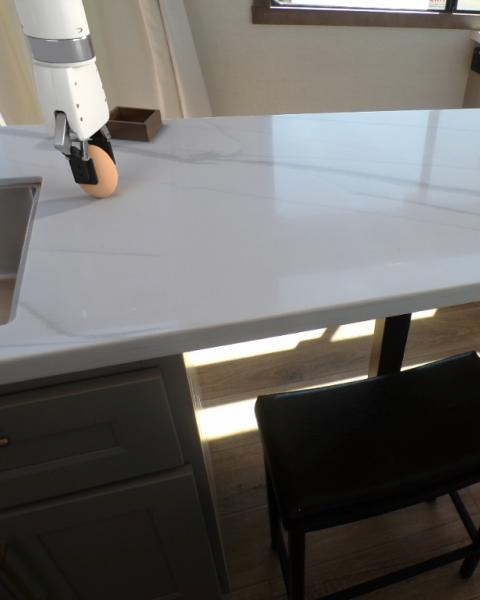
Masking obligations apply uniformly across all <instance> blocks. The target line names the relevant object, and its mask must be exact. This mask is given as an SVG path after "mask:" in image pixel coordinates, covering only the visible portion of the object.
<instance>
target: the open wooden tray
mask: <svg viewBox="0 0 480 600" xmlns="http://www.w3.org/2000/svg"><path fill="white" fill-rule="evenodd" d="M108 122H109V123H108V124H109V125H108V131H109V133H110V140H111V139H112V140H113V139H114V140H124V141H135V142H136V141H137V142H147V143H148V142H150V141H151V140H152V139H153V138H154V137H155V136H156V135H157V133H159V132H160V130H161V129H162V128H163V127H164V125H163V120H162V114H161V109H155V108H147V107H146V108H145V107H133V106H123V105H116V106H115V107H114V108H112V109H110V110H109V119H108Z"/></svg>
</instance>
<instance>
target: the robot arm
mask: <svg viewBox="0 0 480 600" xmlns="http://www.w3.org/2000/svg"><path fill="white" fill-rule="evenodd" d="M13 3H14V7H15V10H16V14H17V16H18V19H19V23H20V25H21V29H22V32H23V35H24V38H25V41H26V44H27V48H28V51H29V54H30V57H31V61H32V62H33V63H34V64H33V65H32V68H33V78H34V83H35V89H36V95H37V98H38V99H37V100H38V103H39V107H40V111H41V115H42V118H43V122H44V126H45V128H46V132H47V134H48V136H49V138H51V139H53V147H54V148H55V149H56V150H57V151H59V152H60V153H61V154H62V155H63V156H64V158H65V160H68V165H69V168H70V170H71V174H72V177H73V180H74V183H75V184H78V185H79V184H88V185H97V184H98V183H99V181H98V177H97V173H96V170H95V166H94V162H93V159H92V158H89V152H88V145H94V146H97V147H99V148H101V149H102V150H104V151H105V152H106V153H107V154H108V155H109V157H110V158H111V159H112V161H113V163H114V164H115V166H116V164H117V163H116V159H115V155H114V151H113V146H112V143H111V138H110V133H109V131H108V125H109V124H108V123H109V122H108V119H109V112H110V110H109V106H108V101H107V96H106V92H105V89H104V86H103V83H102V79H101V75H100V73H99V70H98V67H97V64H96V61H97V57H96V51H95V49H94V45H93V39H92V36H91V32H90V28H89V24H88V19H87V16H86V11H85V7H84V3H83V0H13ZM70 134H76V136H71V135H70ZM72 143H79V148H78V147H77V146H76V145H73V144H72Z"/></svg>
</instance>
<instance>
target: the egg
mask: <svg viewBox="0 0 480 600" xmlns="http://www.w3.org/2000/svg"><path fill="white" fill-rule="evenodd" d="M88 152H89V158H92V159H93V162H94V166H95V170H96V173H97V177H98V181H99V183H98V184H97V185H88V184H78V185H79V187H80V188H81V189H82V190H83V191H84V192H85V193H86V194H88V195H90V196H93V197H94V198H98V199H103V198H107V197H109V196H111V195H112V194H113V193H114V192H115V191H116V188H117V186H118V183H119V173H118V170H117V167H116V165H115V164H114V163H113V161H112V159H111V158H110V157H109V155H108V154H107V153H106V152H105V151H104V150H102V149H101V148H99V147H97V146H94V145H88Z"/></svg>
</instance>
